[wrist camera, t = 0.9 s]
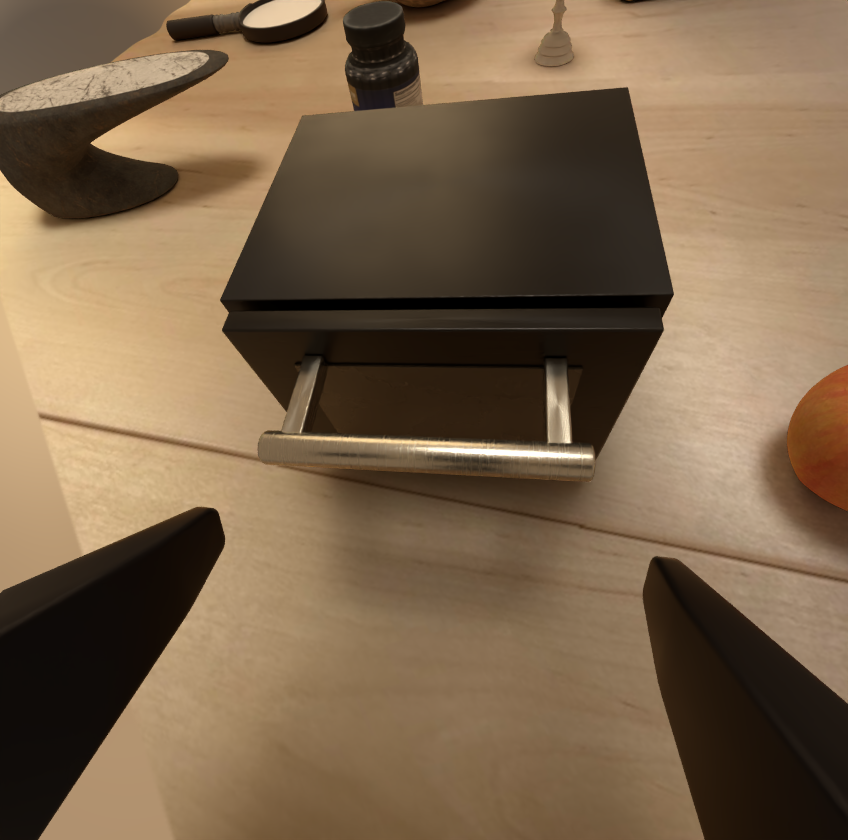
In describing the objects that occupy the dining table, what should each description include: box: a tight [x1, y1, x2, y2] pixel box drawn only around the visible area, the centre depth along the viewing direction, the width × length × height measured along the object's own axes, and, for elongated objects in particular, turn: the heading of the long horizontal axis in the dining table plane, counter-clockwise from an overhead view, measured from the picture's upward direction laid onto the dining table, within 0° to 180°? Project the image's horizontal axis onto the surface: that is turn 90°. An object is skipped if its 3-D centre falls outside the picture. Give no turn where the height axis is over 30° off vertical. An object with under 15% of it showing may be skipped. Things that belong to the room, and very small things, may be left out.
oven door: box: [222, 307, 664, 482], centre depth 19 cm, size 5×15×11 cm, turn 84°
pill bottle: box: [343, 1, 423, 111], centre depth 38 cm, size 6×6×11 cm
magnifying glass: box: [166, 0, 327, 42], centre depth 63 cm, size 12×24×2 cm, turn 85°
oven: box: [220, 87, 674, 317], centre depth 24 cm, size 13×16×13 cm
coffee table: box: [0, 50, 229, 218], centre depth 42 cm, size 25×9×9 cm, turn 95°
